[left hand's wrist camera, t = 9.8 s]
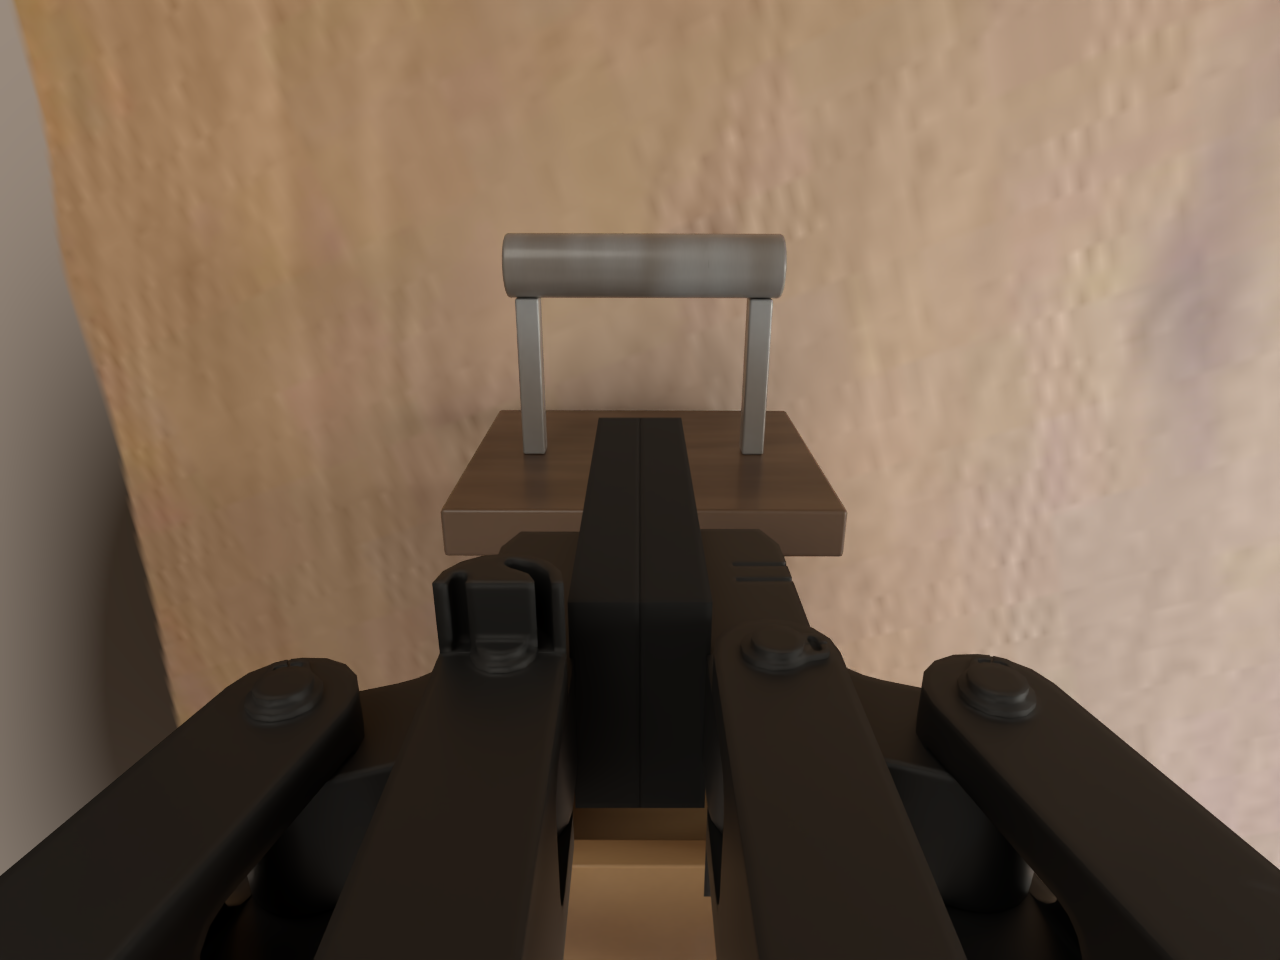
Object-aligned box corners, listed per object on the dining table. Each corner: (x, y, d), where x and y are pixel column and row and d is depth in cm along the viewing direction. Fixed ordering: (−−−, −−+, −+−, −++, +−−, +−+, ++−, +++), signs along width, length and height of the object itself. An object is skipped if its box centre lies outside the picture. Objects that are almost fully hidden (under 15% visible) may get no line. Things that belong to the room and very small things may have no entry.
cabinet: (504, 648, 30) (441, 865, 21) (779, 648, 30) (843, 866, 21) (525, 947, 36) (483, 1224, 26) (755, 947, 36) (797, 1224, 26)
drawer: (487, 223, 23) (412, 246, 16) (799, 224, 24) (877, 248, 16) (522, 770, 31) (484, 967, 23) (759, 771, 31) (799, 967, 23)
